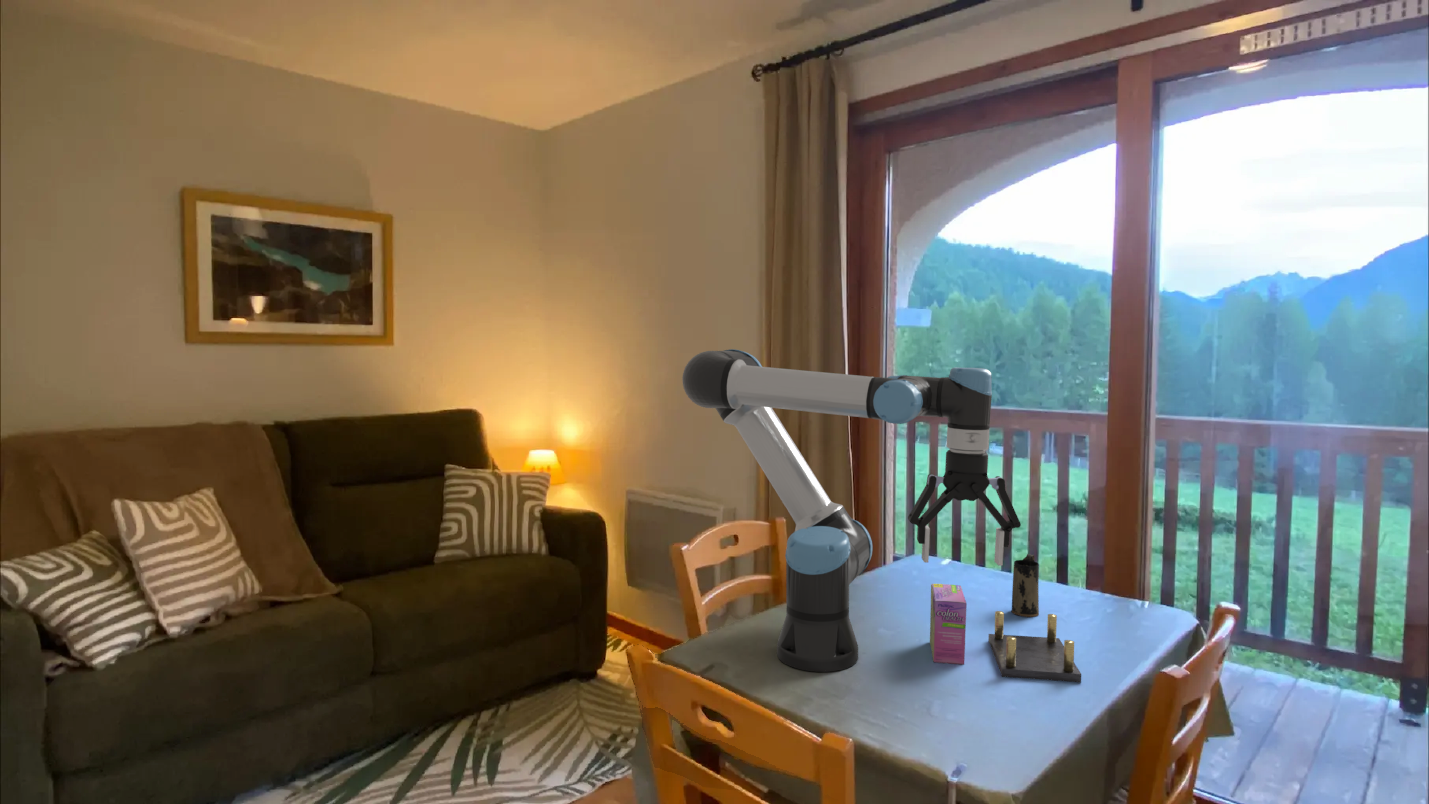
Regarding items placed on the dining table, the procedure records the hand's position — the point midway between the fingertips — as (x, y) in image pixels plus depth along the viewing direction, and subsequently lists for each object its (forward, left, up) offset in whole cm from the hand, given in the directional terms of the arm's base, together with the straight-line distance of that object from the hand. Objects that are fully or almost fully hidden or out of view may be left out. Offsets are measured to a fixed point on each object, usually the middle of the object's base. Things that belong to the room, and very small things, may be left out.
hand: (961, 562), depth 151 cm
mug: (+16, +26, -18) cm, 35 cm away
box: (-3, -1, -18) cm, 18 cm away
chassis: (+12, -2, -17) cm, 21 cm away
